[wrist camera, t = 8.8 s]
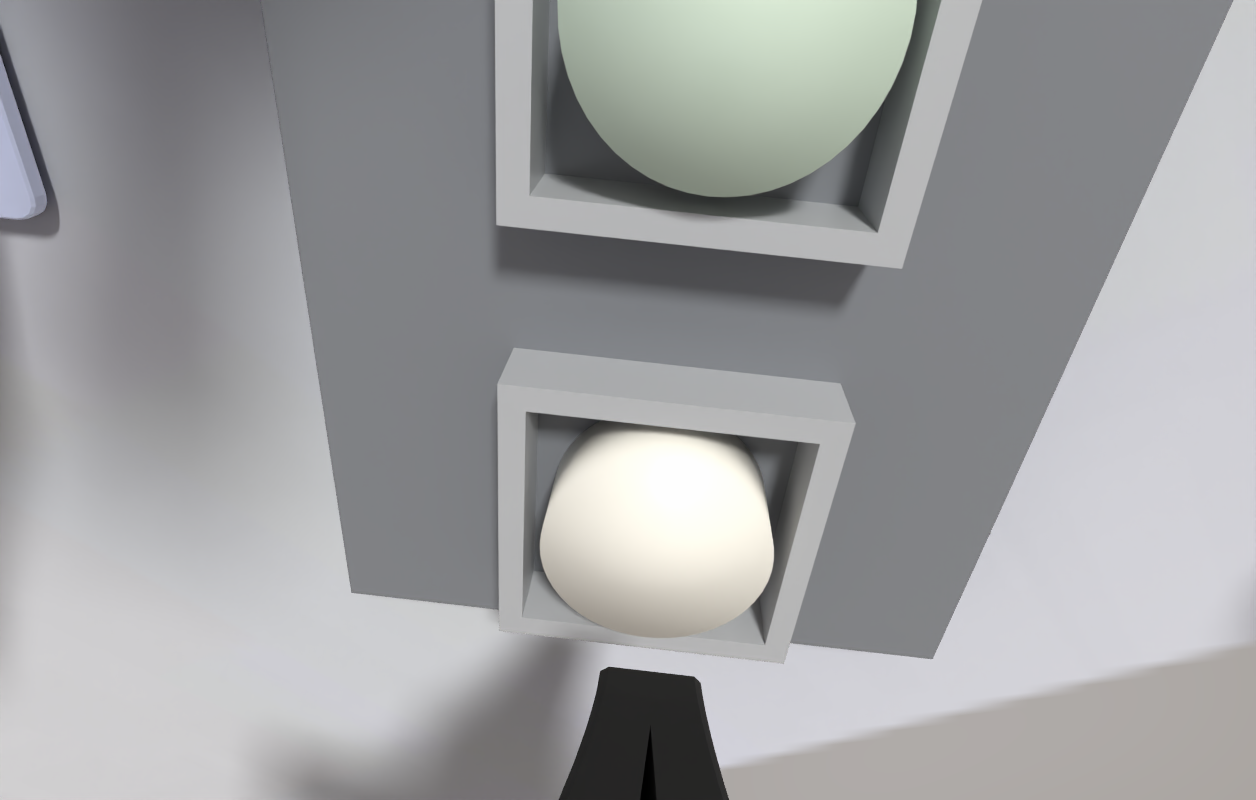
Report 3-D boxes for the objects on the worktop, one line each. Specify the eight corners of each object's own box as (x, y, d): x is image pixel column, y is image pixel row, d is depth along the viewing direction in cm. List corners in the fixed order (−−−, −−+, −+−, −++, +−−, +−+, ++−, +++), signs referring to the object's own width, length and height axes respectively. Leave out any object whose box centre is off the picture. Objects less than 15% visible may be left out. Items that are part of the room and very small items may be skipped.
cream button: (550, 562, 16) (537, 625, 15) (558, 396, 14) (543, 449, 12) (745, 585, 16) (751, 649, 15) (783, 421, 14) (796, 477, 12)
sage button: (569, 151, 12) (551, 179, 10) (584, -197, 9) (564, -230, 8) (841, 181, 12) (864, 212, 10) (922, -162, 9) (969, -190, 8)
